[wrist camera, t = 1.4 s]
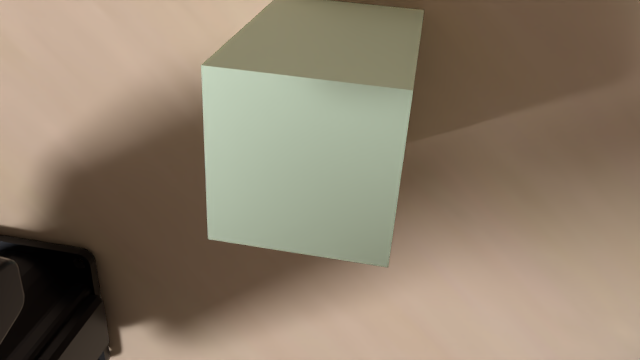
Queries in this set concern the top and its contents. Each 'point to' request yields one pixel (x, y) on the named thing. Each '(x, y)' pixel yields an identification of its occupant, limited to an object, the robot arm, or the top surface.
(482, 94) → the top surface
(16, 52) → the top surface
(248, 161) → the sage block
